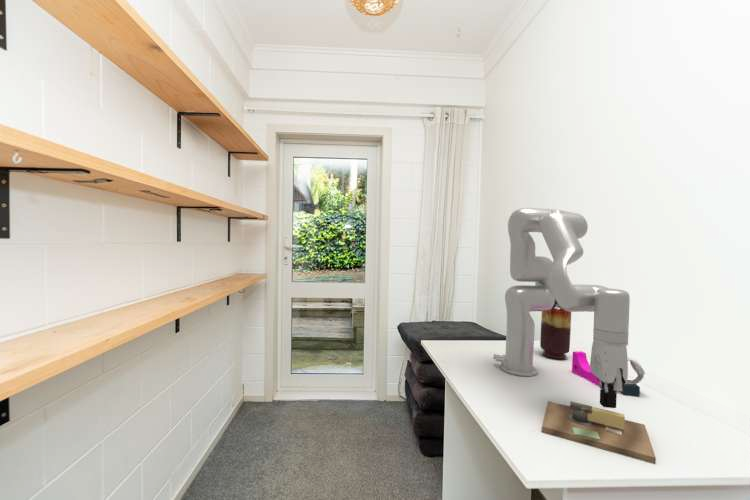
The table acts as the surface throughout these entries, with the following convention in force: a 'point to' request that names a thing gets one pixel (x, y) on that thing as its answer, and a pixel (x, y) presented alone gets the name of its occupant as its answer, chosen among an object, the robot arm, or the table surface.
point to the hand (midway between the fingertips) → (607, 406)
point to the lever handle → (596, 415)
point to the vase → (555, 332)
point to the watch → (631, 385)
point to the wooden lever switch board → (599, 433)
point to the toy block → (583, 367)
